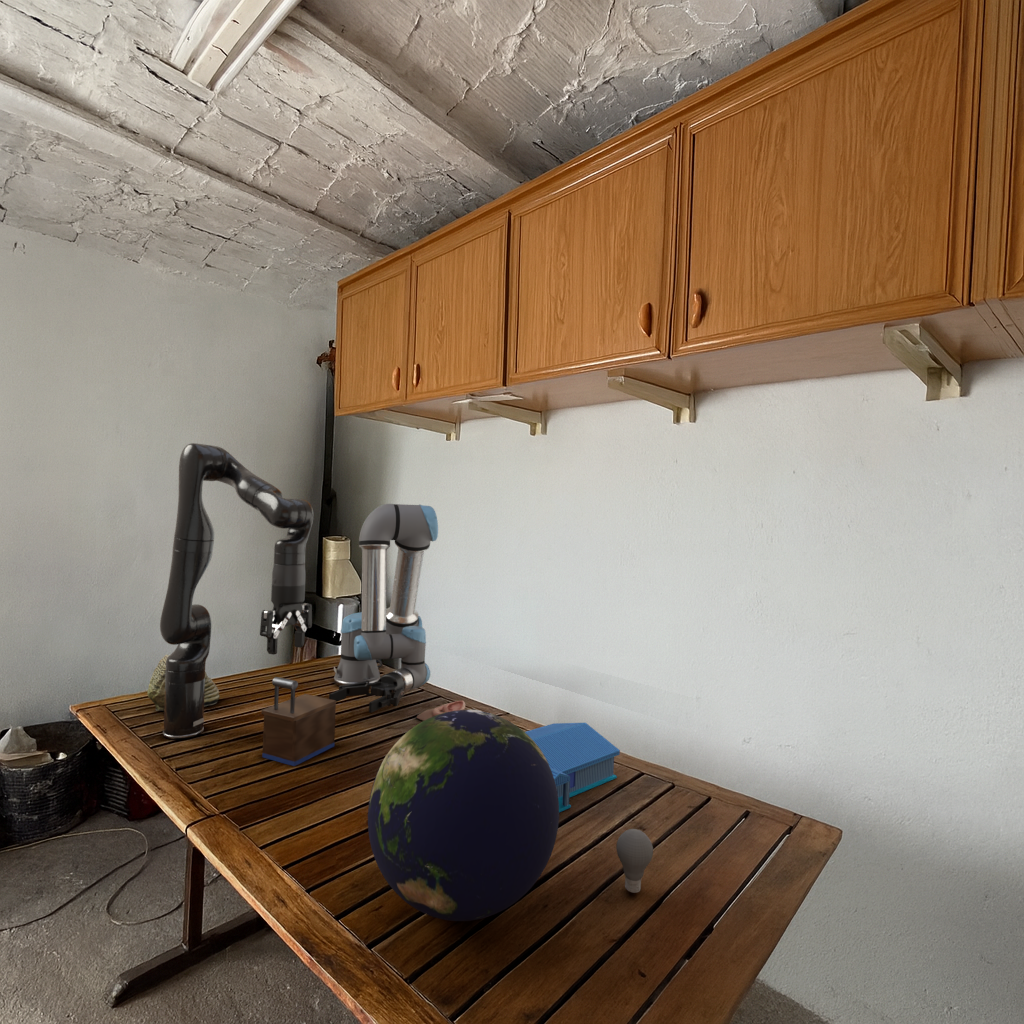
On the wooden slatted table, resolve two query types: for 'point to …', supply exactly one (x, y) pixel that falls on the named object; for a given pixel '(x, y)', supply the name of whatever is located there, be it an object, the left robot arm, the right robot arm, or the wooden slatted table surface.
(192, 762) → the wooden slatted table surface
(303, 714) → the lid
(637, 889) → the light bulb
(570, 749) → the model building
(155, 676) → the fossil
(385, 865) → the globe
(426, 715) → the anatomical model
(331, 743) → the chest
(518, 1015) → the wooden slatted table surface
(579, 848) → the wooden slatted table surface
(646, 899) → the wooden slatted table surface
